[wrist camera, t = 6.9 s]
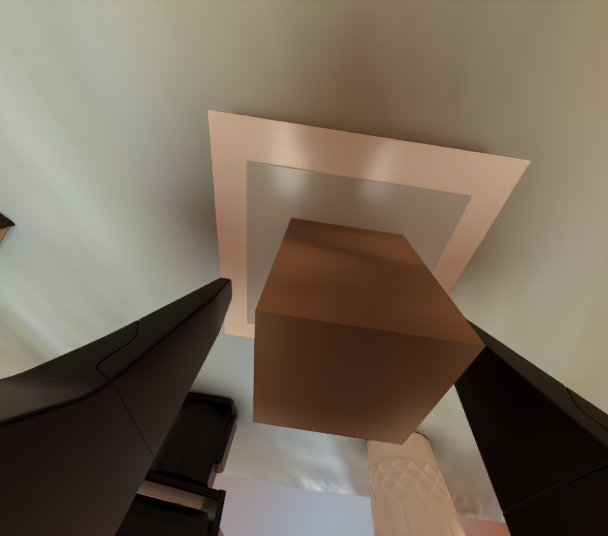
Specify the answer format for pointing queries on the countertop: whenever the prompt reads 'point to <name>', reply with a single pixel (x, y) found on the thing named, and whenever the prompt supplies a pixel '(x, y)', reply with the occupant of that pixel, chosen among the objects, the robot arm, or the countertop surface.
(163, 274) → the countertop surface
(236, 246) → the base
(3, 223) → the hardcover book
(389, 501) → the beige textured cup
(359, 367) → the walnut block
